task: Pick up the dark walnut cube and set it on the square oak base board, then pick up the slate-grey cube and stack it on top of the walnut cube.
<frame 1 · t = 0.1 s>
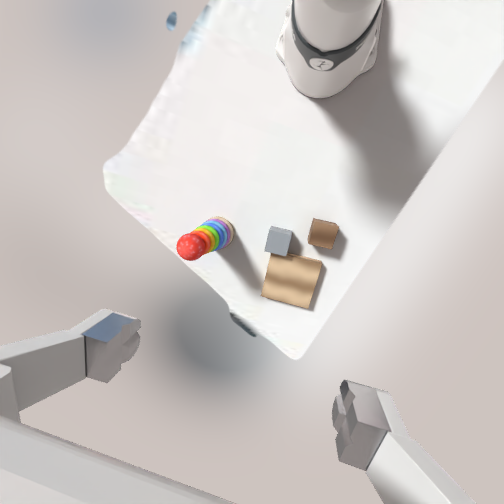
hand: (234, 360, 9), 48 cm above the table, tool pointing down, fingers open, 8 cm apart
walnut block: (321, 231, 54), on the table
stacking toy: (219, 231, 59), on the table
base board: (290, 276, 58), on the table
slate block: (279, 238, 56), on the table
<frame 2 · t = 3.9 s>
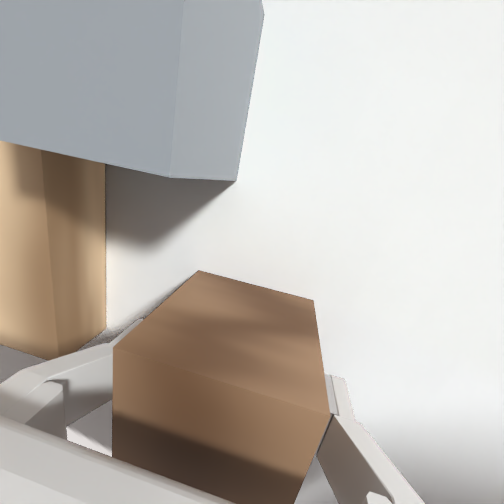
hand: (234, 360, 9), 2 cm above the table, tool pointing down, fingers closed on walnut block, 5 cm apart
walnut block: (243, 333, 11), on the table, touching gripper
slate block: (182, 95, 8), on the table
when the fingers open (5 cm above the table, at t = 9.3 s): walnut block stays where it is, resting on base board.
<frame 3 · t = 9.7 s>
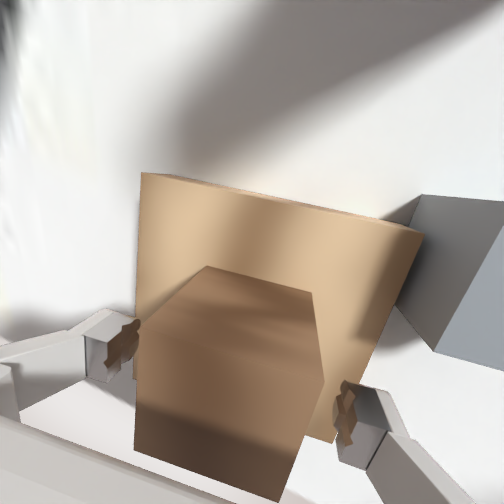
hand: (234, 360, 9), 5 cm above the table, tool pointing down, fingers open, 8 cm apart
walnut block: (247, 323, 11), point 2 cm above the table, touching base board
base board: (254, 298, 14), on the table
slate block: (452, 256, 11), on the table
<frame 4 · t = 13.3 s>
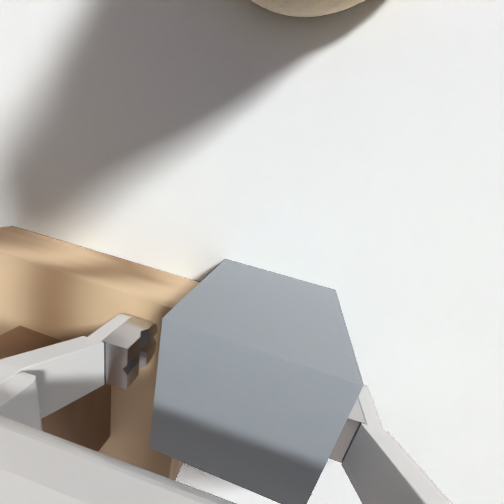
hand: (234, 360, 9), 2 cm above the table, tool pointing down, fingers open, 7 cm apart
walnut block: (66, 382, 11), point 2 cm above the table, touching base board
base board: (106, 347, 14), on the table
slate block: (265, 321, 11), on the table, touching gripper
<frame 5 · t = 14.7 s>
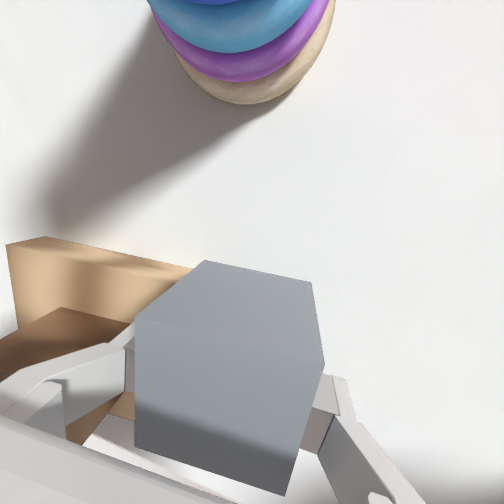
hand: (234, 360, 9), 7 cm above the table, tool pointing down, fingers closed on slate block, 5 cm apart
walnut block: (96, 346, 16), point 2 cm above the table, touching base board
stacking toy: (250, 23, 12), on the table
base board: (120, 324, 18), on the table
slate block: (248, 317, 11), point 4 cm above the table, touching gripper
when the fingers open (10 cm above the table, at t = 19.1 s): slate block stays where it is, resting on walnut block.
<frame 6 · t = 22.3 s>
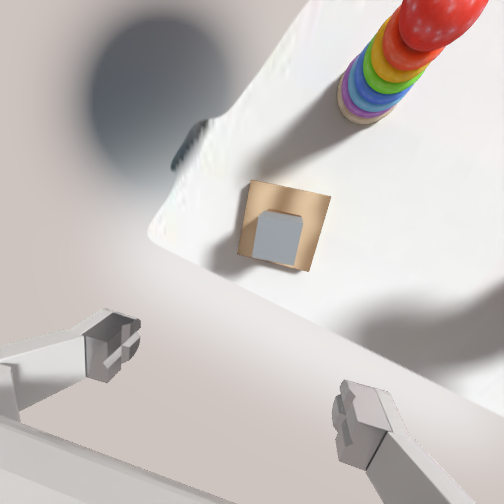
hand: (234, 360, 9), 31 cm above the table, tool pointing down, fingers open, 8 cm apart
stacking toy: (366, 93, 32), on the table
base board: (281, 224, 38), on the table
slate block: (279, 232, 31), point 7 cm above the table, touching walnut block
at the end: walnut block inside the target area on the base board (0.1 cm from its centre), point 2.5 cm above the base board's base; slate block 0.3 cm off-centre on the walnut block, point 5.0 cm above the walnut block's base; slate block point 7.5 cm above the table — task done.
